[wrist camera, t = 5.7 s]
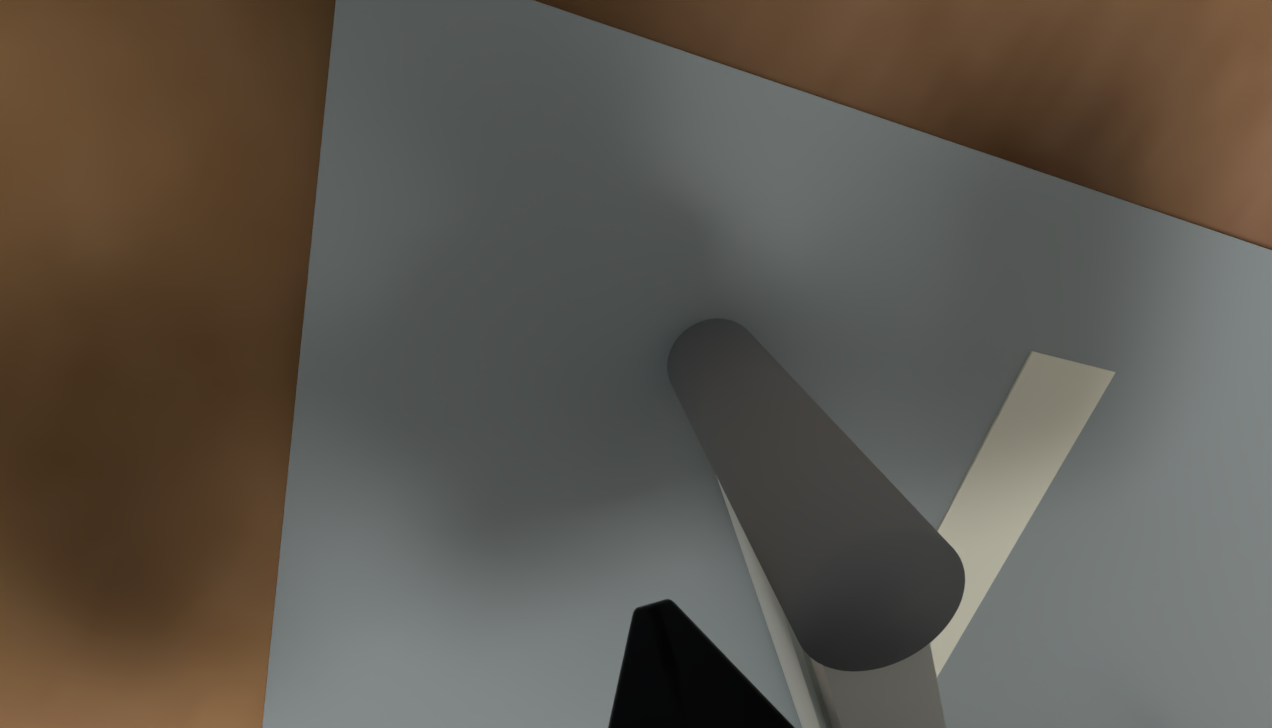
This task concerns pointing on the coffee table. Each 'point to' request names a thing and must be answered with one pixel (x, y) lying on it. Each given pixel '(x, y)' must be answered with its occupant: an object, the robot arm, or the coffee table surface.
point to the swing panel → (820, 538)
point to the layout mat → (796, 338)
